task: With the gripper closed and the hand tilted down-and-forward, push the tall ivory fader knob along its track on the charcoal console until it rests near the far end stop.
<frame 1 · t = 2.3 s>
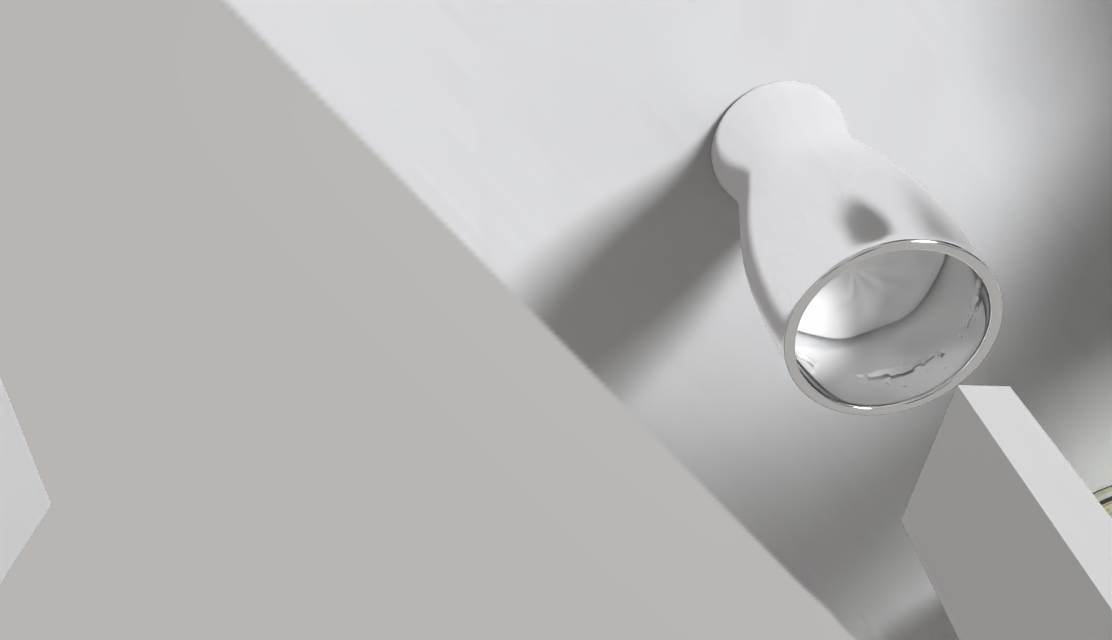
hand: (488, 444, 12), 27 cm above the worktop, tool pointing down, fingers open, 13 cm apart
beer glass: (776, 143, 38), on the worktop
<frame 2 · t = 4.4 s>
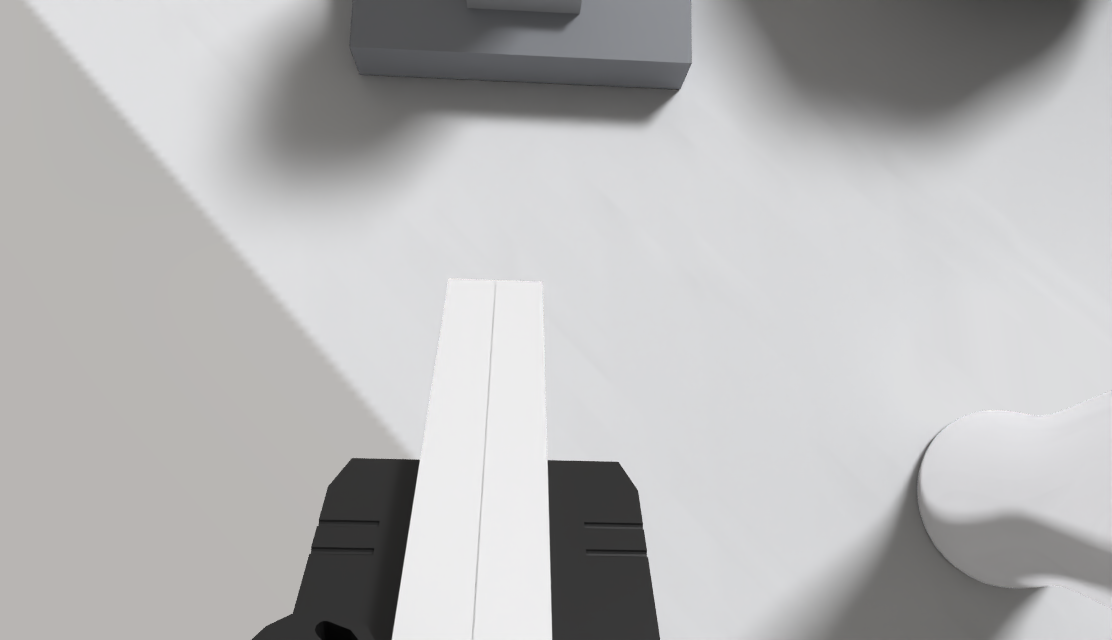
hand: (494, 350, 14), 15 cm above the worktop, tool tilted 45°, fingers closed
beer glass: (996, 496, 29), on the worktop
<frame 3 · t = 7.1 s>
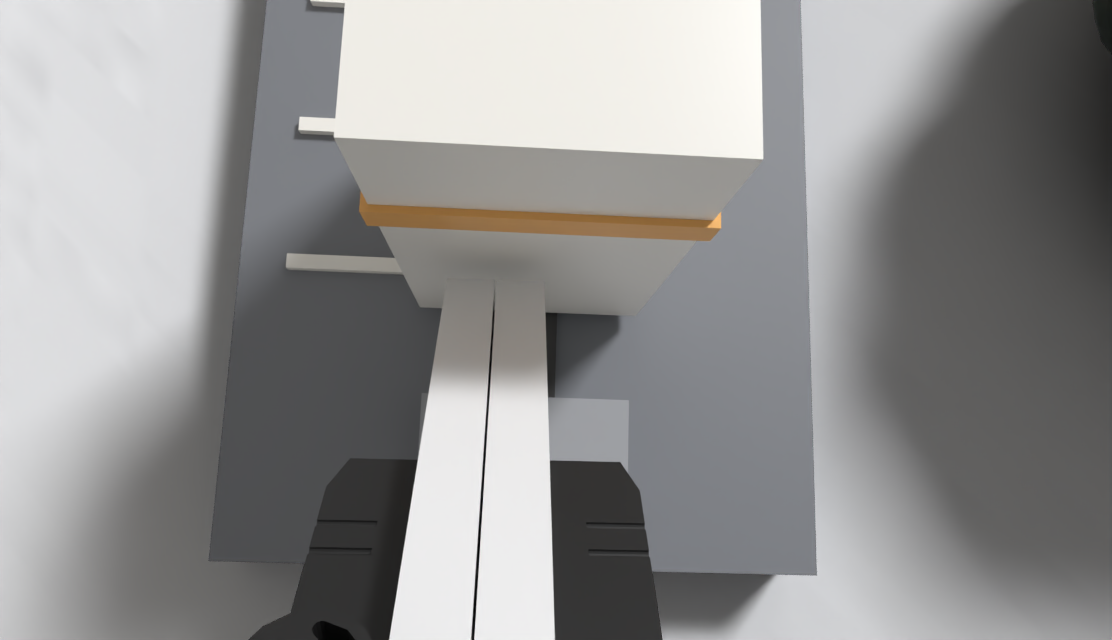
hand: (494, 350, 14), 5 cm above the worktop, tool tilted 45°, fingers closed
console: (534, 95, 20), on the worktop
fader knob: (540, 122, 13), point 7 cm above the worktop, slide at 1.3 cm
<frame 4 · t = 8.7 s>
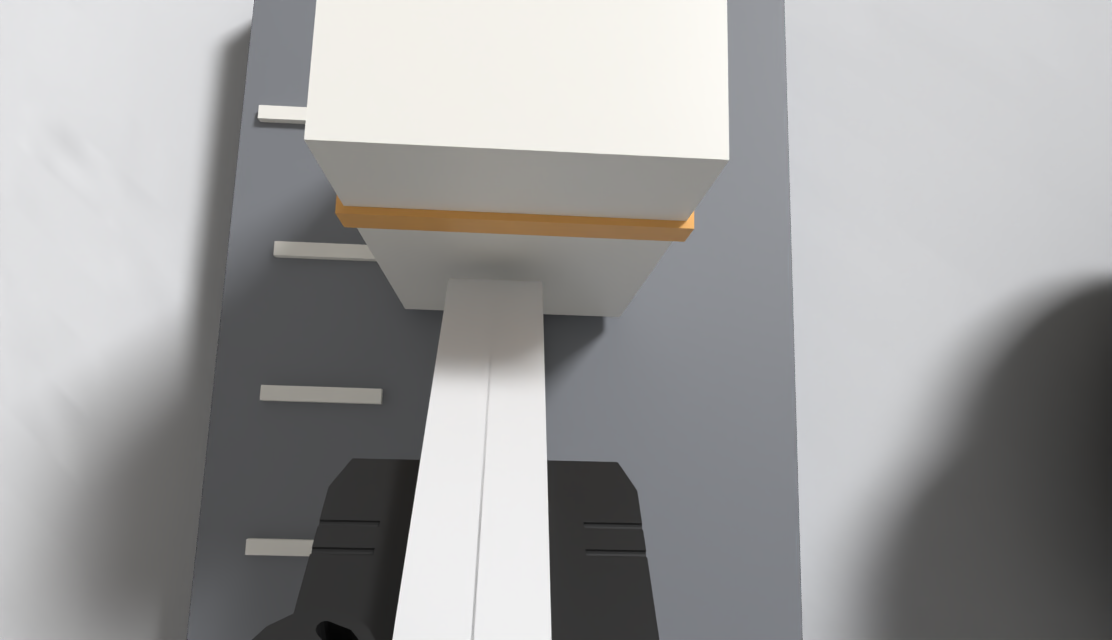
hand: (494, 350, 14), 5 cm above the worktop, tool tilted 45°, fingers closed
console: (507, 453, 19), on the worktop
fader knob: (520, 124, 13), point 7 cm above the worktop, slide at 10.0 cm, touching gripper
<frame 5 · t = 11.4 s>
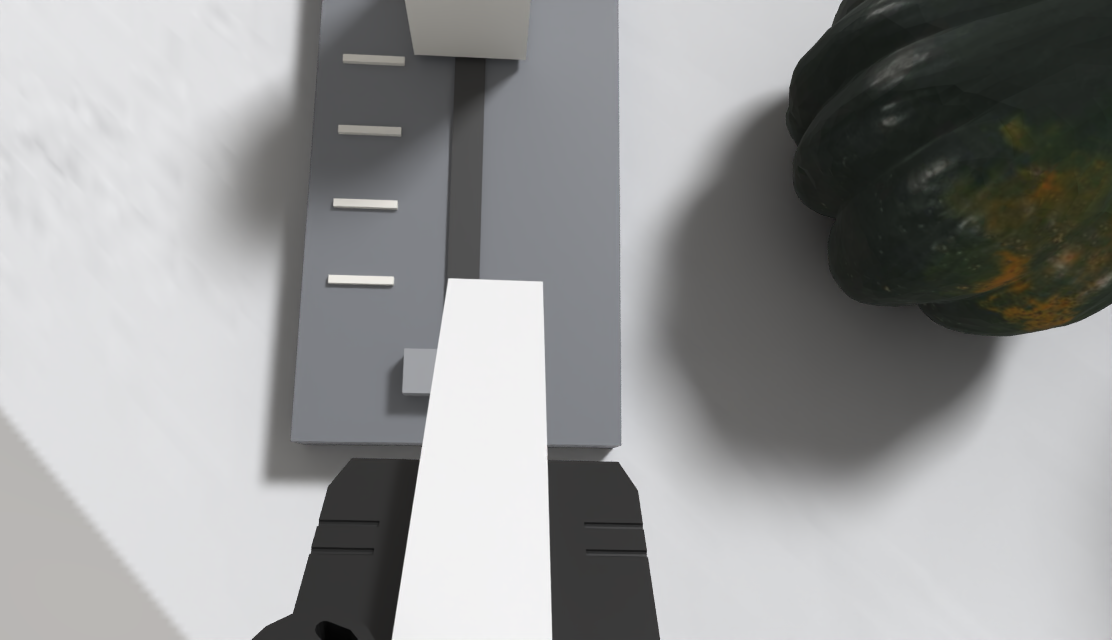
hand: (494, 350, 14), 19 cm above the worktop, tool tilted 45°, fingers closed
squash: (911, 181, 36), on the worktop
console: (468, 178, 34), on the worktop
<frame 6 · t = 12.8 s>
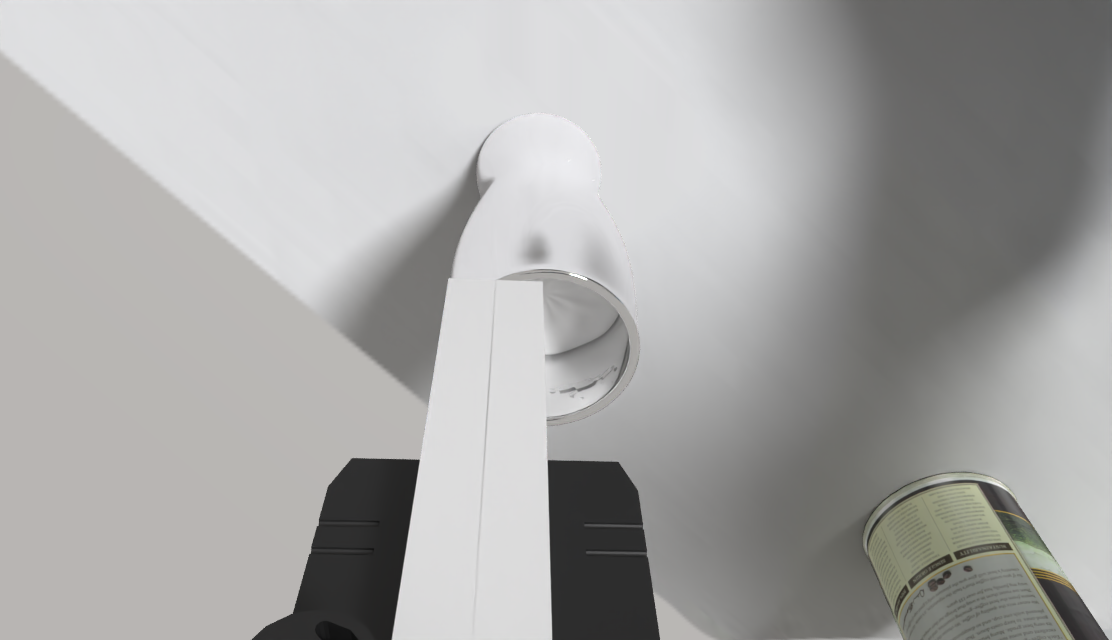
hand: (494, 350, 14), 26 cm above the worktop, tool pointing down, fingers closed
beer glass: (538, 170, 41), on the worktop
coffee can: (937, 523, 56), on the worktop
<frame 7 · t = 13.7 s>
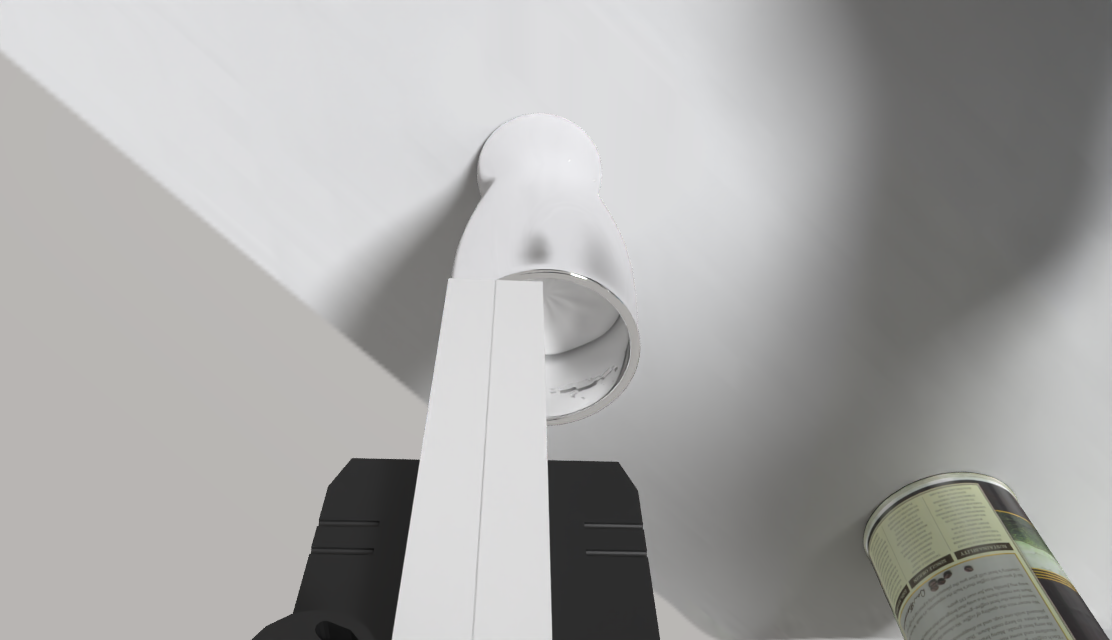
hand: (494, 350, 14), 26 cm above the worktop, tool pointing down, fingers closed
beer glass: (539, 170, 41), on the worktop
coffee can: (937, 523, 56), on the worktop
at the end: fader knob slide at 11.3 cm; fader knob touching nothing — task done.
